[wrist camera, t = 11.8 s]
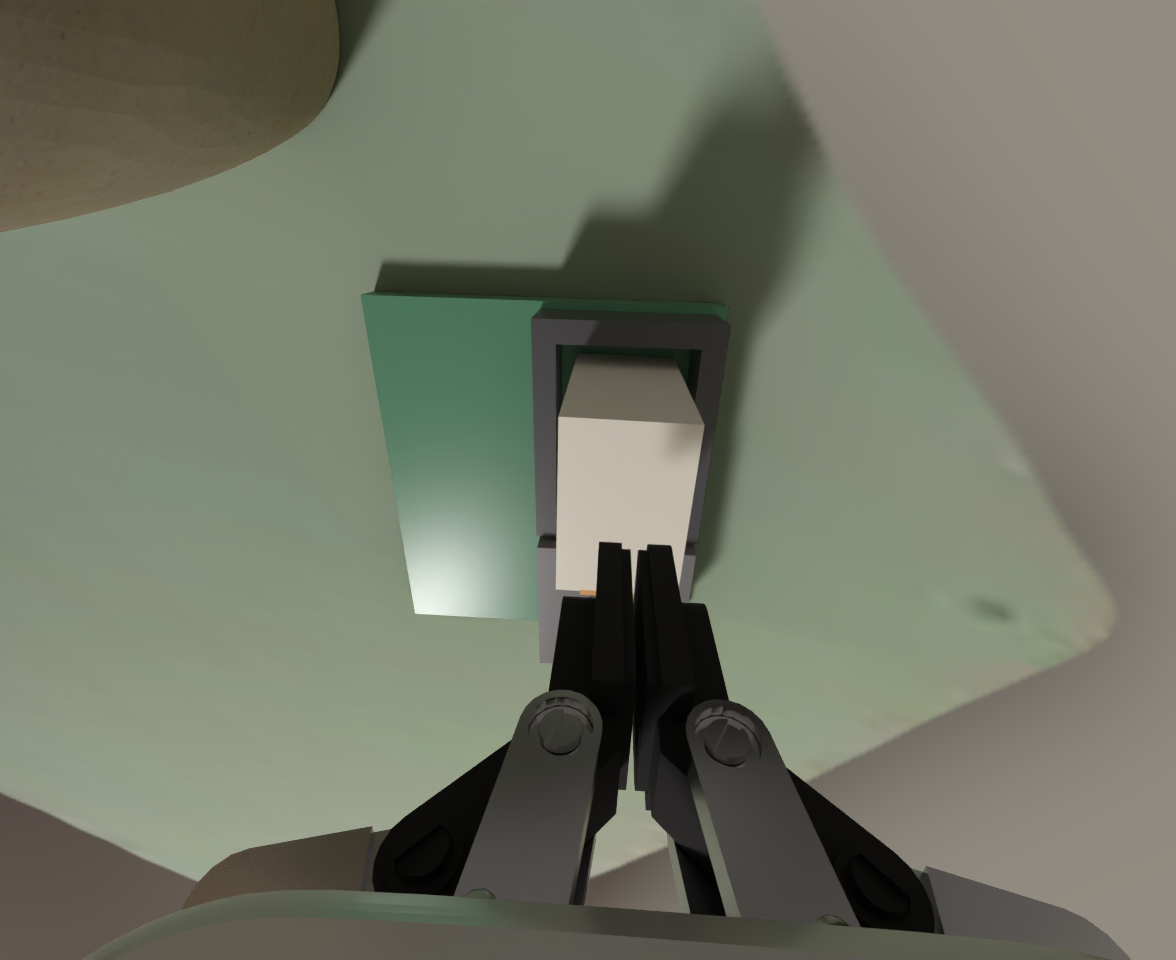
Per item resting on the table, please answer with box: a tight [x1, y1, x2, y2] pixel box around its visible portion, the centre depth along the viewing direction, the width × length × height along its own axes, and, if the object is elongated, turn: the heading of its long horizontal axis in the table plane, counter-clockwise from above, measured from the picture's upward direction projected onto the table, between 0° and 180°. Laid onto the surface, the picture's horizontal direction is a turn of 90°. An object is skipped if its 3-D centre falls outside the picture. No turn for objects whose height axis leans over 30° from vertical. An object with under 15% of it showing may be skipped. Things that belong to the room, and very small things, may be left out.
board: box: [361, 292, 731, 620], centre depth 23 cm, size 17×15×4 cm
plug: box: [556, 353, 705, 598], centre depth 18 cm, size 6×4×8 cm, turn 178°
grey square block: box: [537, 536, 696, 663], centre depth 24 cm, size 7×7×3 cm
